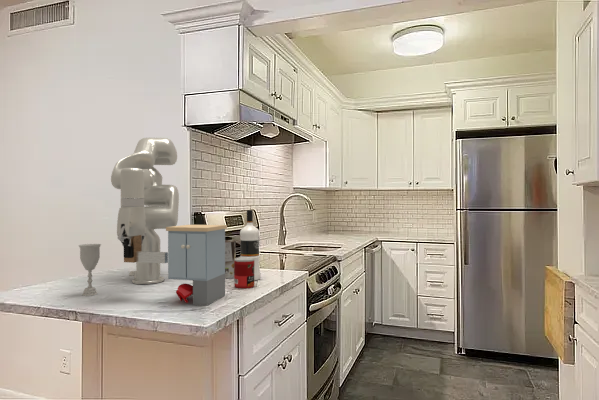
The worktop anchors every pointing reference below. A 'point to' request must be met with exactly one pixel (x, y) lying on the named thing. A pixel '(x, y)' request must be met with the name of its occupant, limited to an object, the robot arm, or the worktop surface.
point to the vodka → (250, 243)
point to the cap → (184, 291)
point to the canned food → (244, 272)
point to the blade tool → (145, 253)
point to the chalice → (89, 264)
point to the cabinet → (198, 259)
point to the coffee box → (230, 258)
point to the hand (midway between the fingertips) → (132, 256)
